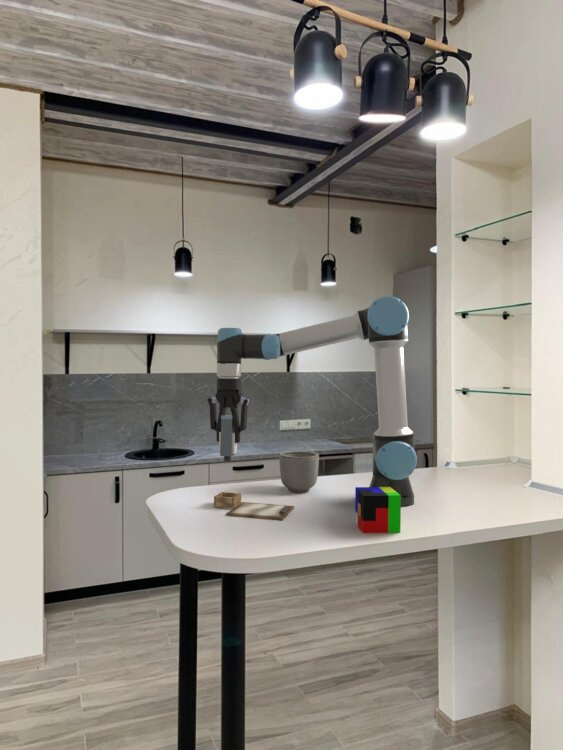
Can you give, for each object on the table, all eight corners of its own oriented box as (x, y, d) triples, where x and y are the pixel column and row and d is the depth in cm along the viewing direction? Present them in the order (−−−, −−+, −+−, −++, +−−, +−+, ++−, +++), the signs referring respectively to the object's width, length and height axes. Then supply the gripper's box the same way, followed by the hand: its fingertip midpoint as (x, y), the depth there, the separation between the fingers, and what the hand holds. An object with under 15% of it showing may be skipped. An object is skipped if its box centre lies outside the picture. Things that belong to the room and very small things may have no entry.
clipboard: (294, 507, 169) (294, 503, 169) (282, 520, 156) (282, 515, 156) (242, 503, 174) (242, 499, 174) (226, 515, 160) (226, 510, 160)
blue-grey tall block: (234, 460, 172) (236, 415, 172) (230, 461, 168) (232, 415, 169) (224, 459, 173) (225, 415, 173) (219, 460, 169) (221, 415, 170)
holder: (241, 503, 174) (241, 493, 174) (234, 509, 167) (234, 498, 167) (221, 502, 175) (221, 491, 175) (213, 507, 169) (213, 496, 169)
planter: (272, 493, 188) (273, 455, 188) (287, 485, 201) (287, 449, 201) (311, 497, 183) (311, 458, 183) (323, 488, 196) (324, 452, 196)
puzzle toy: (355, 522, 155) (355, 487, 154) (389, 522, 155) (390, 486, 155) (363, 533, 145) (363, 495, 144) (400, 532, 145) (400, 495, 145)
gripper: (258, 377, 172) (257, 452, 172) (208, 376, 176) (208, 449, 177) (250, 378, 165) (249, 456, 165) (199, 377, 169) (198, 453, 169)
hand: (228, 452), depth 171 cm, fingers closed on blue-grey tall block, 3 cm apart
